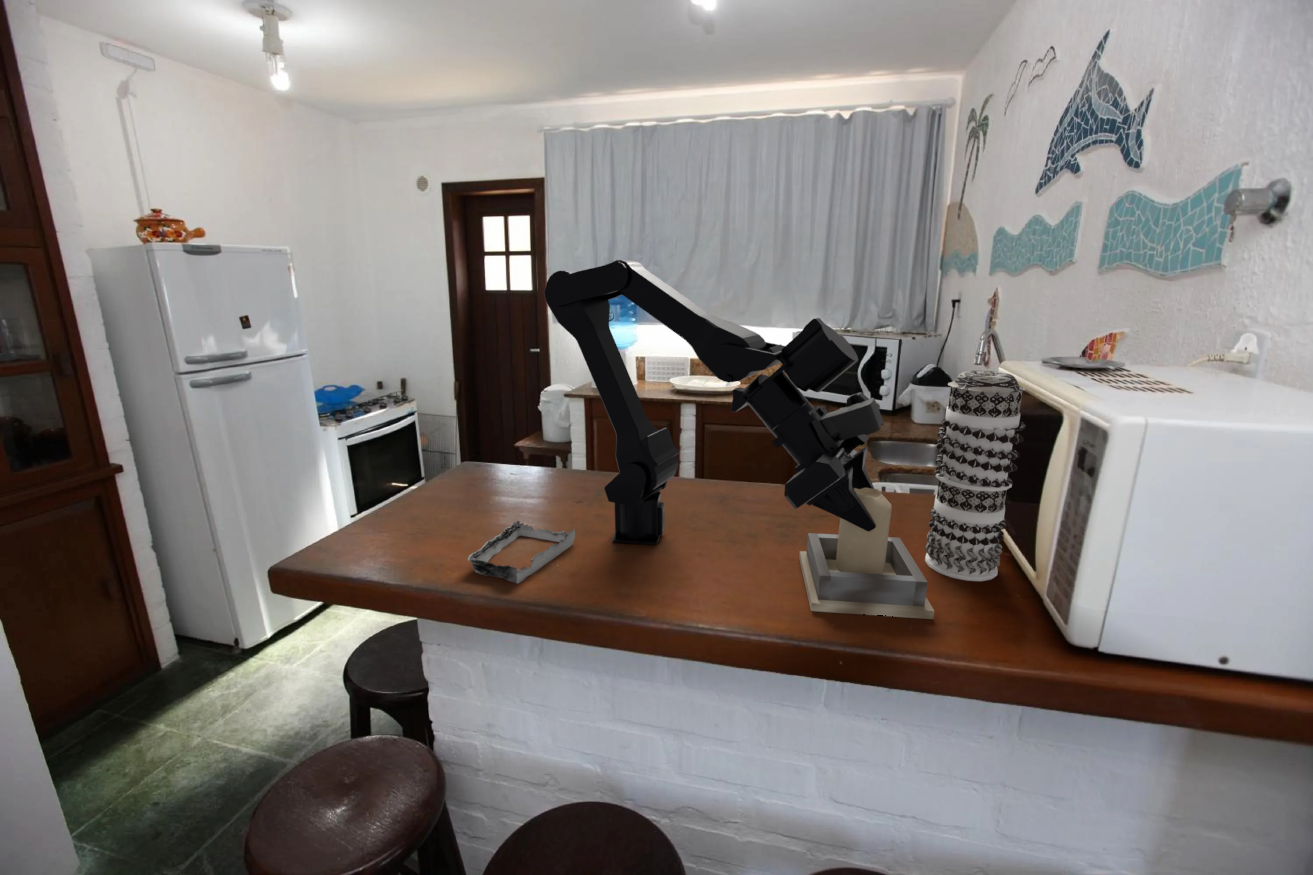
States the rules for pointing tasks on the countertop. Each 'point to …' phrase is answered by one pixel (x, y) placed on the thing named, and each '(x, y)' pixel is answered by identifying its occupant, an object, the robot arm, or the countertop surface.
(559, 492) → the countertop surface
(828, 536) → the square tray
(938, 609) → the countertop surface
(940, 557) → the decorative candle
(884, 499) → the candle
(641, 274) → the robot arm
